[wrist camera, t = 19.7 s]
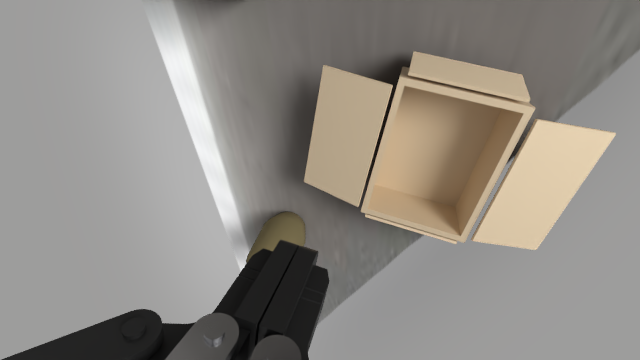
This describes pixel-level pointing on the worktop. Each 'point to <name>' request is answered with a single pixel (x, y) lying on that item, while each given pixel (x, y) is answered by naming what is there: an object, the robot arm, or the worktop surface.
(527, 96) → the carton
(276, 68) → the worktop surface
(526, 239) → the flap
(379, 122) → the flap
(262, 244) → the squeeze bottle
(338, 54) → the worktop surface
